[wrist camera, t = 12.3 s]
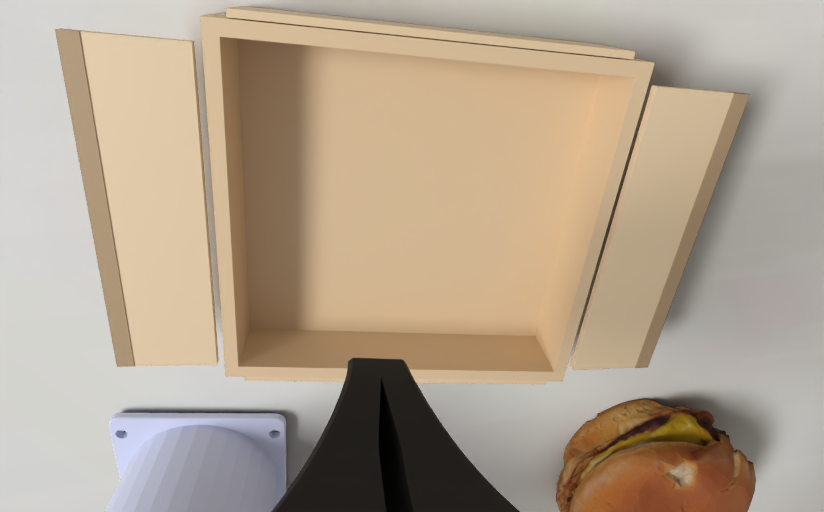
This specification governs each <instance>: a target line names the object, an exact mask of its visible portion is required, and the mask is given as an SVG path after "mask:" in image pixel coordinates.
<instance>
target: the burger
mask: <svg viewBox="0 0 824 512" xmlns="http://www.w3.org/2000/svg"><path fill="white" fill-rule="evenodd" d="M713 422H714V419H713V416H712V415H711V414H710V413H709V412H708V411H704V410H699V411H696V410H693V409H688V408H686V407H683V406H678V407H675V408H672V407H669V406H663V405H661V404H660V403H658V402H656V401H650V400H648V399H642V400H633V401H629V402H625V403H622V404H619V405H616V406H614V407H611V408H609V409H608V410H605V411H603V412H601V413H598V414H597V417H596V419H593V420H591V421H590V422H586V423H585V424H584V425H583V426H582V427H581V428H580V429H579V430H578V431H577V432H576V434H575V435H574V436H573V437H572V439H571V440H570V442H569V444H568V445H567V447H566V450H565V453H564V469H563V470H562V472H561V474H560V476H559V480H558V482H557V494H556V502H557V504H558V508H559V510H560V512H747V511H748V509H749V506H750V503H751V500H752V497H753V494H754V491H755V482H756V478H755V472H754V466H753V463H752V462H750V461H748V460H747V458H746V456H745V455H744V454H743V453H742V452H741V451H740V450H734V449H733V447H732V445H731V443H730V439H729V435H726V432H725V431H720V430H718V429H716V428H713V426H712V424H713Z"/></svg>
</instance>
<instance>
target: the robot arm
mask: <svg viewBox="0 0 824 512" xmlns="http://www.w3.org/2000/svg"><path fill="white" fill-rule="evenodd" d="M109 429H110V434H111V439H112V444H113V449H114V453H115V458H116V463H117V468H118V473H119V478H120V481H119V483H118V485H117V487H116V490H115V492H114V494H113V496H112V498H111V500H110V502H109V504H108V506H107V508H106V510H105V512H519V511H518V510H517V509H516V508H515V507H514V506H513V505H512V504H511V503H510V502H509V501H507V500H506V499H505V498H504V497H503V496H502V495H501V494H500V493H499V492H498V491H497V490H496V489H495V488H494V487H493V486H492V485H491V484H490V483H489V482H488V481H487V480H486V479H485V478H484V477H483V476H482V474H481V473H480V472H479V471H478V470H477V469H476V468H475V467H474V465H473V464H472V463H471V462H470V461H469V460H468V458H467V457H466V456H465V455H464V453H463V452H462V451H461V450H460V448H459V447H458V446H457V445H456V443H455V442H454V441H453V439H452V438H451V437H450V435H449V434H448V433H447V431H446V430H445V428H444V427H443V425H442V424H441V423H440V421H439V420H438V418H437V416H436V415H435V413H434V412H433V410H432V409H431V407H430V406H429V404H428V403H427V401H426V399H425V398H424V396H423V394H422V392H421V391H420V389H419V387H418V385H417V384H416V382H415V380H414V378H413V376H412V374H411V372H410V370H409V368H408V366H407V364H406V362H405V361H404V360H403V359H378V358H352V359H351V360H349V361H348V368H347V375H346V379H345V382H344V385H343V388H342V391H341V394H340V397H339V399H338V401H337V404H336V406H335V409H334V411H333V413H332V416H331V418H330V420H329V422H328V424H327V426H326V428H325V430H324V432H323V434H322V436H321V438H320V439H319V441H318V443H317V445H316V447H315V449H314V450H313V452H312V454H311V455H310V457H309V459H308V460H307V462H306V463H305V465H304V467H303V468H302V470H301V471H300V473H299V474H298V476H297V477H296V479H295V480H294V482H293V483H292V484H291V486H290V487H289V489H288V490H286V419H285V418H284V416H282V415H280V414H272V413H117V414H115V415H113V417H112V418H111V420H110V422H109ZM121 430H123V431H125V432H122V431H121ZM273 430H276V431H279V432H273Z"/></svg>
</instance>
